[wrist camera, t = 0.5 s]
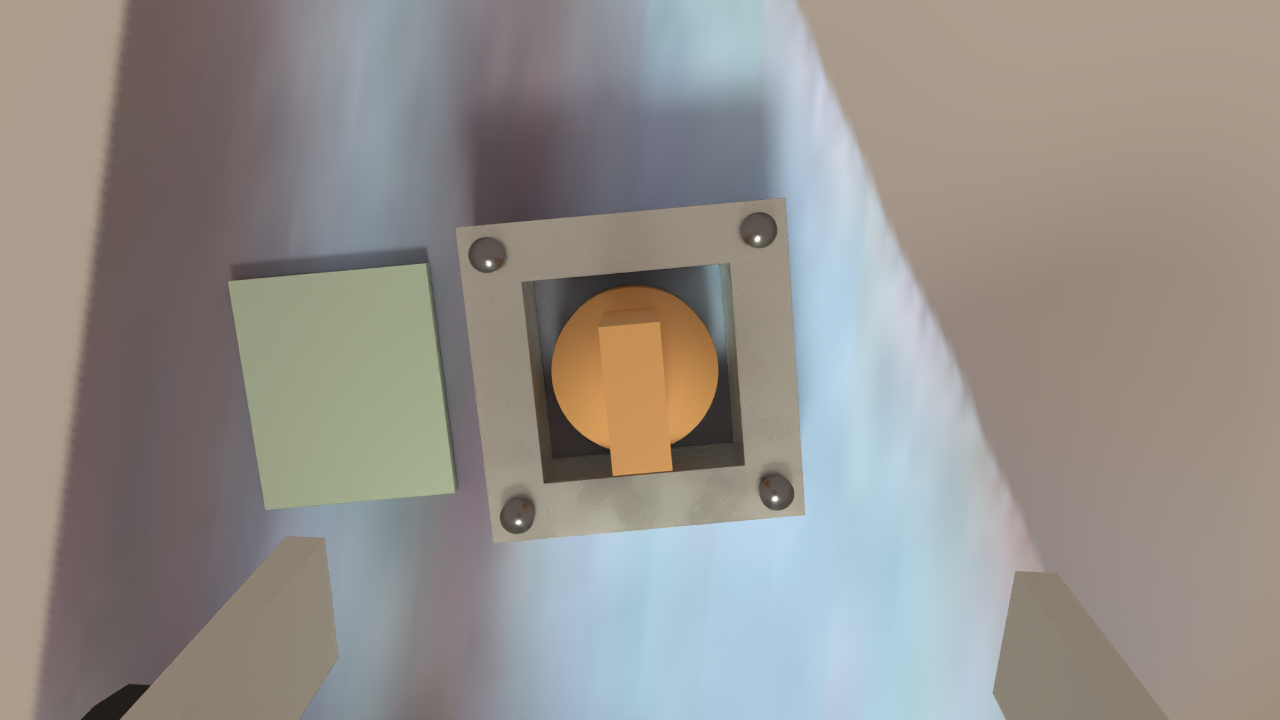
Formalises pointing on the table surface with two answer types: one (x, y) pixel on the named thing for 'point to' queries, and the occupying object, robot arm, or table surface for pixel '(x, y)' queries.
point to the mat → (344, 385)
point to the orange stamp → (635, 374)
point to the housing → (702, 475)
